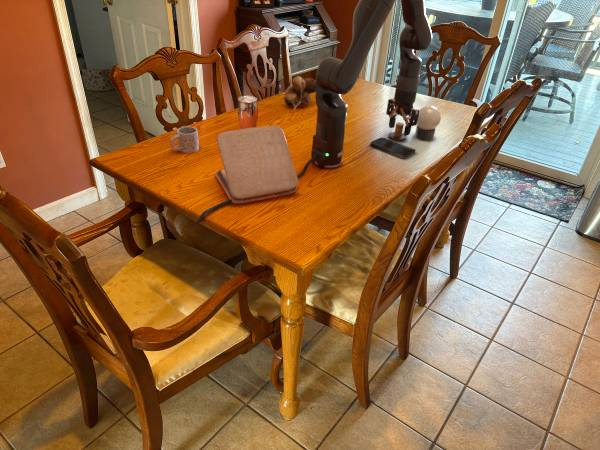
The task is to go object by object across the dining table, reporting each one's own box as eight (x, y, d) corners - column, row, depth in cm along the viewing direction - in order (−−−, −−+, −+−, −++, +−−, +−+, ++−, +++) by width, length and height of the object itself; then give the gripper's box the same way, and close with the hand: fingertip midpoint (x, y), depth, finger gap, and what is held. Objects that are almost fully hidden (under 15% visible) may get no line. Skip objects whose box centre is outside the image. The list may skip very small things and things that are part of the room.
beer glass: (262, 140, 162) (262, 99, 153) (247, 145, 157) (246, 103, 149) (249, 134, 165) (248, 94, 157) (234, 139, 161) (233, 98, 153)
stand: (424, 142, 167) (426, 132, 165) (410, 135, 172) (412, 125, 170) (437, 138, 171) (439, 128, 168) (423, 132, 175) (426, 122, 173)
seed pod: (329, 91, 190) (308, 72, 196) (303, 90, 179) (281, 69, 185) (316, 117, 198) (295, 98, 204) (290, 118, 187) (269, 97, 193)
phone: (381, 136, 166) (416, 150, 158) (381, 139, 167) (416, 152, 159) (369, 142, 161) (404, 156, 153) (368, 145, 162) (404, 159, 154)
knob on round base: (396, 143, 166) (399, 128, 162) (384, 136, 170) (386, 122, 167) (410, 139, 169) (413, 125, 166) (397, 133, 173) (400, 119, 170)
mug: (191, 143, 157) (190, 125, 153) (202, 149, 153) (201, 131, 149) (166, 150, 151) (164, 132, 147) (177, 157, 147) (175, 138, 143)
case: (232, 208, 123) (230, 154, 114) (213, 173, 139) (209, 124, 130) (300, 195, 131) (303, 144, 122) (274, 164, 146) (275, 117, 137)
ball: (425, 136, 165) (431, 112, 160) (408, 127, 171) (413, 104, 166) (442, 132, 169) (448, 108, 164) (425, 123, 175) (430, 101, 170)
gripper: (385, 83, 162) (378, 126, 171) (413, 95, 152) (404, 140, 161) (400, 80, 165) (393, 123, 175) (429, 92, 156) (419, 136, 165)
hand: (398, 131), depth 168 cm, fingers open, 7 cm apart
